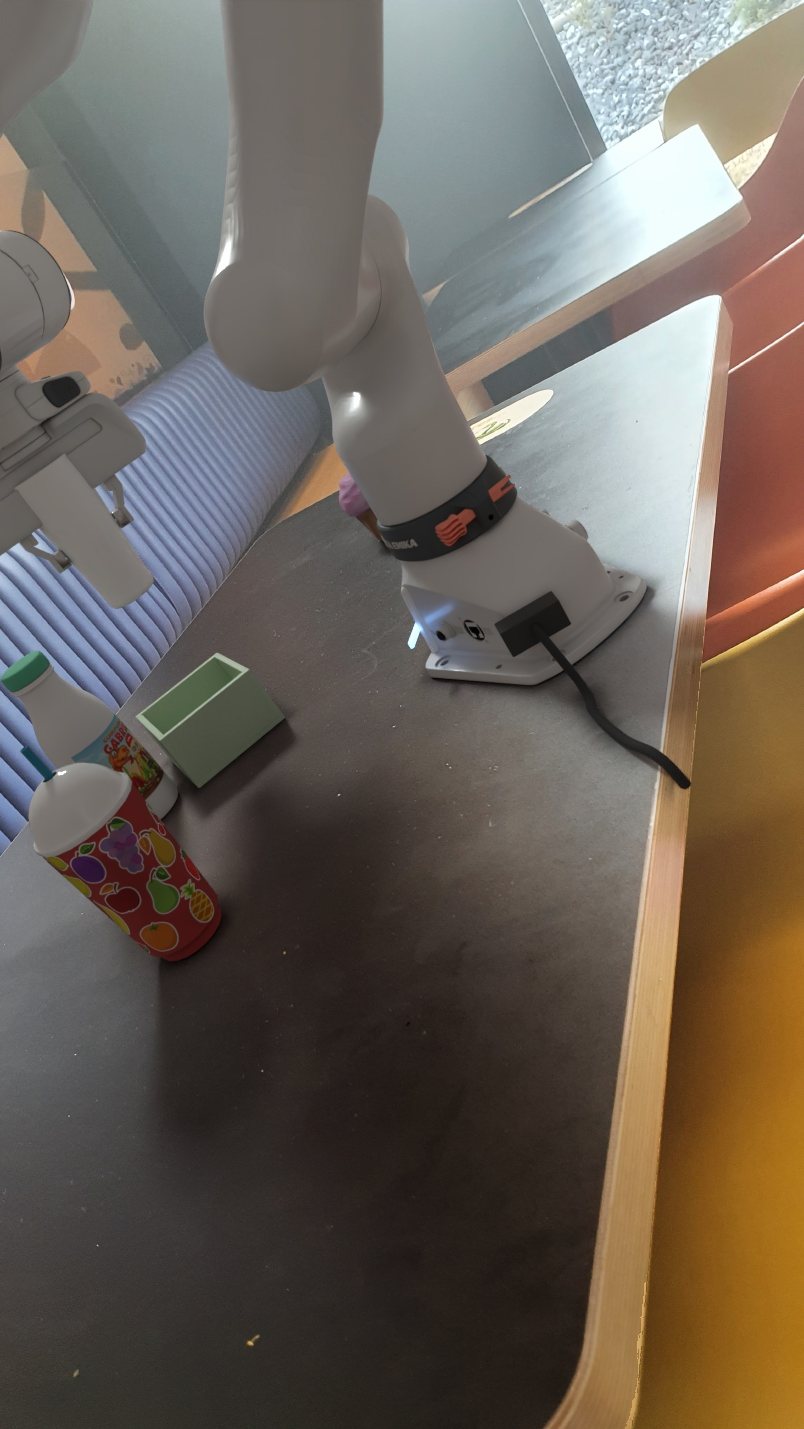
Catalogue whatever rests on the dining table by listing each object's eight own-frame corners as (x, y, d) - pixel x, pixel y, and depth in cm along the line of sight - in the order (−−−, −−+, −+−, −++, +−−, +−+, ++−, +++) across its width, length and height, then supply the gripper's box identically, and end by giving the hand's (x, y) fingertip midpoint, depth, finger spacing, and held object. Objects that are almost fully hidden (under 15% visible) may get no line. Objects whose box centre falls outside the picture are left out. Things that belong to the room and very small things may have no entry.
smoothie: (201, 887, 82) (45, 709, 73) (255, 901, 75) (91, 709, 67) (132, 965, 77) (-42, 787, 69) (183, 986, 71) (-2, 794, 62)
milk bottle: (116, 852, 96) (-23, 701, 87) (120, 815, 103) (-9, 672, 94) (181, 810, 96) (48, 654, 87) (180, 776, 103) (57, 629, 94)
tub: (285, 717, 100) (249, 669, 97) (199, 788, 98) (159, 740, 95) (250, 696, 110) (217, 652, 107) (171, 760, 108) (134, 716, 105)
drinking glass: (145, 599, 95) (44, 469, 88) (97, 624, 98) (-5, 499, 91) (171, 567, 100) (77, 442, 93) (125, 591, 103) (30, 471, 96)
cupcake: (360, 542, 135) (322, 481, 130) (411, 507, 135) (375, 445, 131) (374, 555, 127) (334, 491, 122) (429, 519, 127) (391, 453, 123)
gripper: (-94, 488, 85) (13, 613, 91) (95, 361, 90) (184, 487, 96) (-94, 488, 90) (7, 606, 96) (84, 368, 95) (169, 487, 101)
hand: (97, 546), depth 96 cm, fingers closed on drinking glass, 6 cm apart
